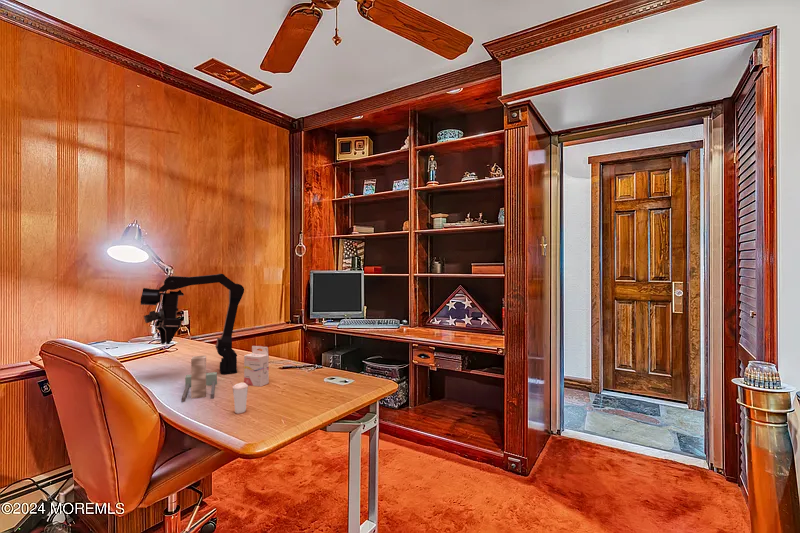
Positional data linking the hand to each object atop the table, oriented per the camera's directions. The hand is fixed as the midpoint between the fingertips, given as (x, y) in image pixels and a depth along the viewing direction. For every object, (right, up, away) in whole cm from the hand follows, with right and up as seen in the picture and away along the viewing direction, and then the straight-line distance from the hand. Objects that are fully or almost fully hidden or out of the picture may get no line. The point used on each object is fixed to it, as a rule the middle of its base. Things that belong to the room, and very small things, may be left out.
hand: (165, 344), depth 160 cm
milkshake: (+44, -15, -34) cm, 58 cm away
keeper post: (+23, -15, -18) cm, 33 cm away
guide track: (+21, -15, -13) cm, 29 cm away
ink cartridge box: (+39, -15, -4) cm, 42 cm away
